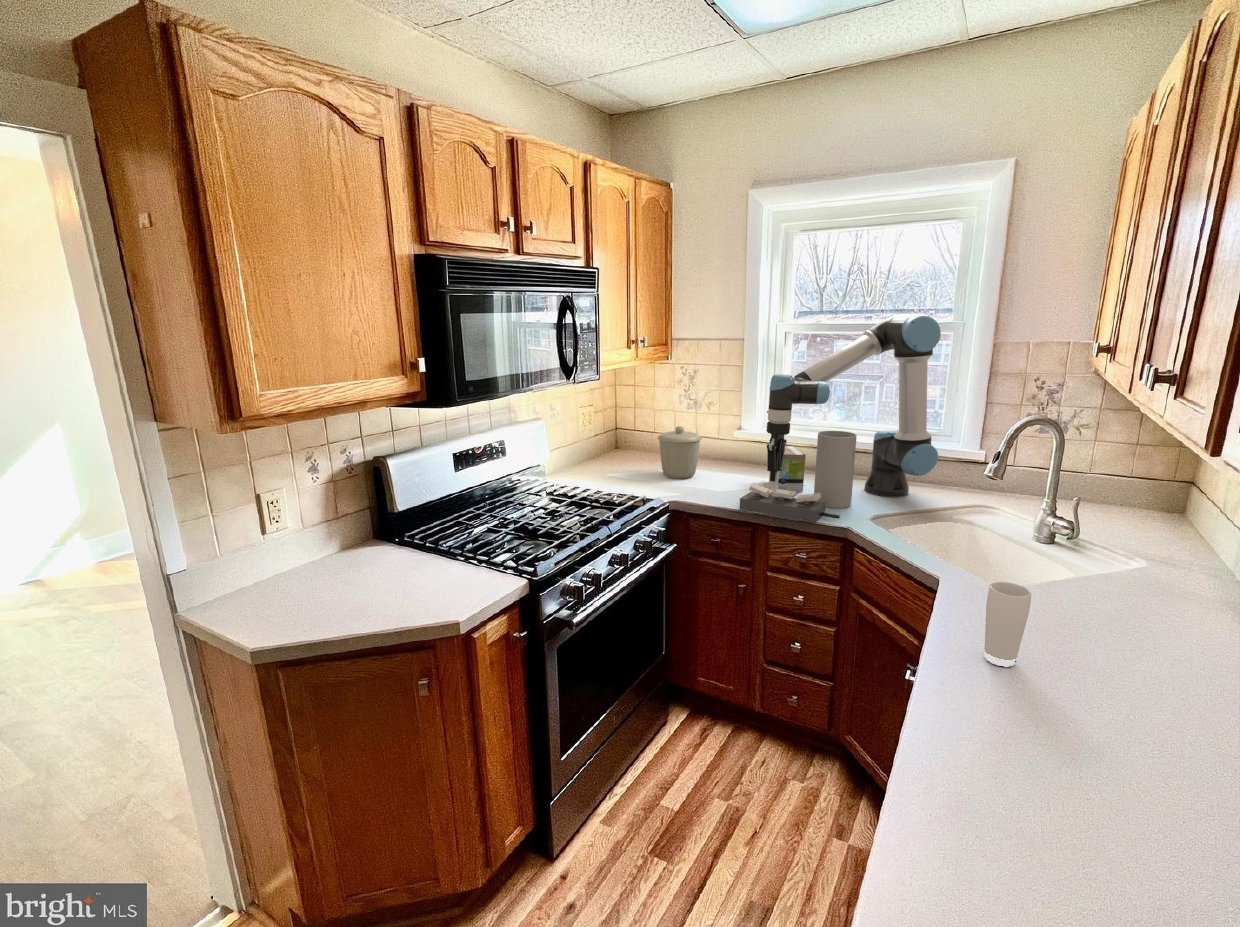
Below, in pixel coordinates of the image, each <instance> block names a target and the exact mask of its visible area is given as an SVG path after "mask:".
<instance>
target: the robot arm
mask: <svg viewBox="0 0 1240 927" xmlns="http://www.w3.org/2000/svg"><path fill="white" fill-rule="evenodd" d="M941 334H942V333H941V327H940V324H939V323H938V321H937V320H935V319H934V318H933V317H931V316H930V315H926V314H921V313H915V314H914V313H913V314H911V313H910V314H895V315H892V316H890V317H887V318H885V319H884V320H882V321H880V322H878V323H876V324H875V325H873V326H872V327H870V328H868V329H867V330H866V329H865V331H863V333H862V335H861V336H860V337H859V338H857V339H856V340H854V341H852V342H850V343H849V344H847V345H845V346H844V347H841V348H840V349H838V350H837V351H835V352H833V353H831V354H830V355H828V356H827V357H825V358H823V359H821V360H819V361H817V362H816V363H815V364H813V365H811V366H810V367H807V368H806V369H805V370H803V371H801V372H799V373H797V374H796V375H791V374H774V375H772V376H771V379H770V382H769V383H770V384H769V398H768V408H767V409H768V410H767V411H766V414H767V420H768V421H767V423H766V432H767V433H768V434H769V435H770V438H769V442H768V443H769V444H767V445H766V450H767V469H766V471H767V472H769V477H768V486H767V487H768V488H767V489H769V490H772V491H774V490H775V491H776V490H778V479H779V471H782V469H780V468H782V463H783V456H784V450H785V447H786V445H787V439H786V438H785V436H786V435H789V434H790V433H791V432H790V430H791V423H790V422H791V421H792V409H793V405H798V404H799V405H816V406H817V405H824V404H826V403H827V402H828V400H829V399H830V396H831V395H830V392H831V391H830V385H829V383H828V382H829V381H831V380H832V379H834V378H836V377H837V376H840V375H841V374H842V373H845V372H846V371H848V370H849V369H851V368H853V367H855V366H856V365H858V364H860V363H861V362H863V361H865V360H866V359H868V358H870V357H872V356H874V355H875V356H880V355H881V354H882V353H884V352H887V351H891V350H893V358H895V360H896V361H897V362H898V370H899V371H898V430H879V431H877V432H875V433H874V436H873V441H872V442H873V445H872V456H871V457H872V458H871V468H870V469H871V470H870V472H869V474H868V476H867V479H866V481H865V483H864V491H865V492H866V493H868V494H871V495H874V496H880V497H889V498H891V497H892V498H898V497H899V498H900V497H906V496H908V495H909V492H910V491H909V490H910V488H909V487H910V486H909V483H908V480H907V479H908V478H907V475H910V476H914V477H922V476H925V475H927V474H929V473H930V472H931V471H932V470H933V469H934V468H935V467H936V465H937V463H938V460H939V453H938V449H937V448H936V447H935V446H934V445H932V434H931V433H930V432H928V430H927V428H928V427H927V422H928V421H927V420H928V417H927V415H928V410H927V409H928V363H929V362H928V361H929V360H930V358H931V357H932V356H933V355H934V349H935V347H937V344H939V343H940V340H941ZM906 474H907V475H906Z"/></svg>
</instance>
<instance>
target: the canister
mask: <svg viewBox="0 0 1240 927" xmlns="http://www.w3.org/2000/svg"><path fill="white" fill-rule="evenodd" d="M656 439H657V440H659V441H658V442H659V445H658V446H659V450H660V451H659V452H660V453H659V454H660V462H661V467H662V468H661V469H662V473H663V475H664V476H665V477H667V478H669V479H677V480H682V479H683V480H684V479H690V478H692V477H694V475H695V473H696V471H697V466H698V458H699V452H700V451H699V450H700V443H701V440H702V439H703V437H702V436H700V435H699V434H698V433H696V432H691V431H686V430H685V427H683V426H682V425H677V426H676V427H675V431H674V430H673V431H666V432H663V433H661V434H660V435H658V436H657V438H656Z"/></svg>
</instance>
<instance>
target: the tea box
mask: <svg viewBox="0 0 1240 927" xmlns="http://www.w3.org/2000/svg"><path fill="white" fill-rule="evenodd" d="M806 455H807V454H806V453H804V452H803V451H802V450H801V449H799V448H798V447H796V446H785V450H784V456H783V463H782V468H780V469H782V471H779V479H778V489H780V490H787V491H795V492H797V493H802V492H803V491H804V481H805V471H806V458H807V456H806Z"/></svg>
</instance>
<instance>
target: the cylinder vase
mask: <svg viewBox="0 0 1240 927" xmlns="http://www.w3.org/2000/svg"><path fill="white" fill-rule="evenodd" d="M857 435H858V434H857V433H855V432H851V431H846V430H845V431H844V430H822V431H819V432H817V444H816V459H815V470H814V471H815V473H814V488H813V489H814V490H813V494H815V493H821V498H820V499H818V500H816V501H817V502H824V503H825V509H826V508H827V509H835V510H836V509H837V510H838V509H845V508H849V507H850V506H851V504H852V497H853V487H854V486H853V485H854V483H853V482H854V473H855V472H854V471H855V460H856V448H857V447H856V446H857Z"/></svg>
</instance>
